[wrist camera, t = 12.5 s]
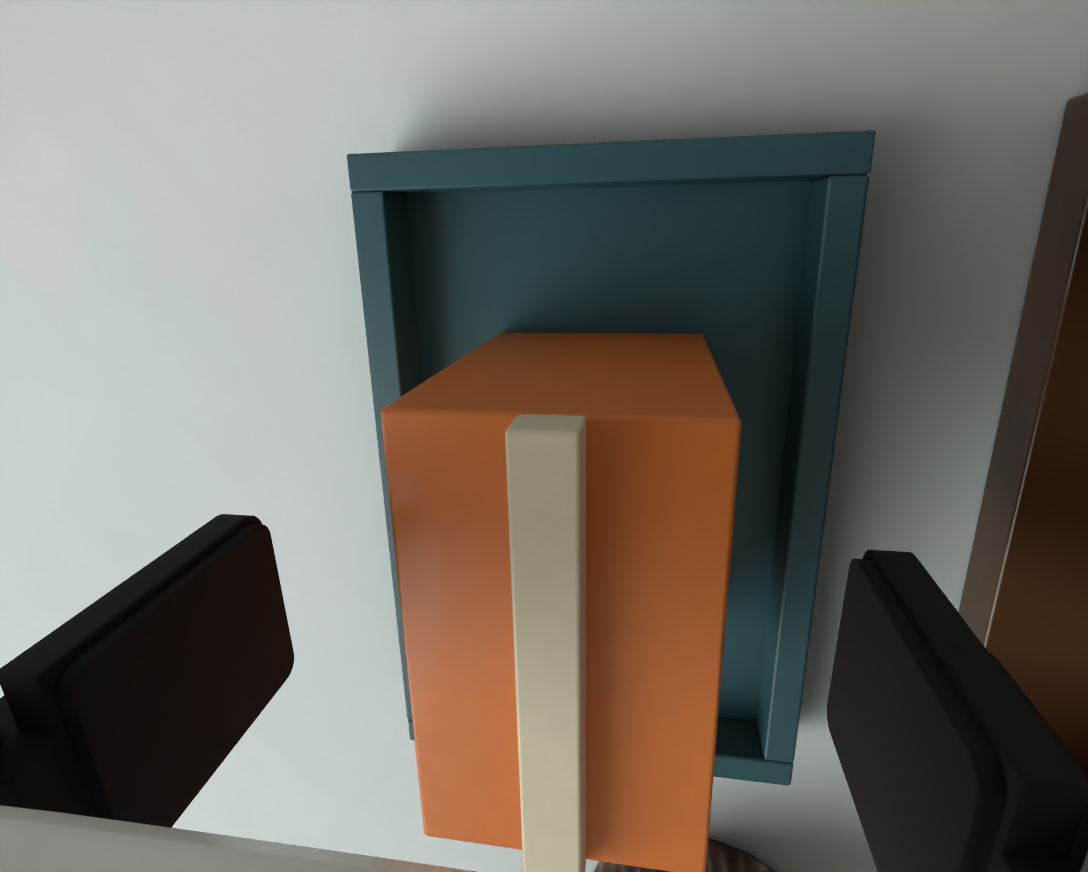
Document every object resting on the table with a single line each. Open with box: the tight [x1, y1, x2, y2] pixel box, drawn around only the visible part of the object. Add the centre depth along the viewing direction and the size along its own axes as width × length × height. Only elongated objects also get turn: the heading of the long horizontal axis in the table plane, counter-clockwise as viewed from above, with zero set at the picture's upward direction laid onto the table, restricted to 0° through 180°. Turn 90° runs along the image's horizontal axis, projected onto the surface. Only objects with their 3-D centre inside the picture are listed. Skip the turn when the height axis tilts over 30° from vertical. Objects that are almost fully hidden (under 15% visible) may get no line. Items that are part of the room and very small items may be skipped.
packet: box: [381, 332, 741, 872], centre depth 13 cm, size 8×5×8 cm, turn 1°
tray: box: [347, 130, 875, 785], centre depth 17 cm, size 17×11×2 cm
